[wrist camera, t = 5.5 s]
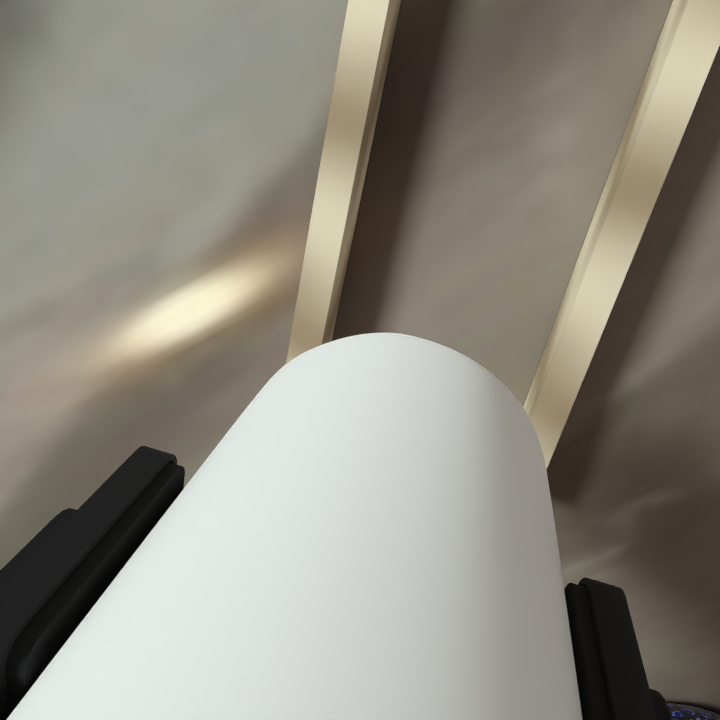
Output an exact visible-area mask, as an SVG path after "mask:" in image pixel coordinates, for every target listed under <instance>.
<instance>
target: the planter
mask: <svg viewBox="0 0 720 720" xmlns="http://www.w3.org/2000/svg"><path fill="white" fill-rule="evenodd" d="M666 704H667V707H668V709H669V712H670V716H671V719H672V720H720V714H717V713H715V712H712V711H709V710H706V709H702V708H698V707H694V706H689V705H683V704H676V703H666Z"/></svg>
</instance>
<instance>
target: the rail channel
mask: <svg viewBox="0 0 720 720" xmlns="http://www.w3.org/2000/svg"><path fill="white" fill-rule="evenodd" d="M400 4H401V0H349V1H348V6H347V12H346V18H345V24H344V30H343V35H342V41H341V47H340V53H339V59H338V65H337V70H336V76H335V82H334V88H333V94H332V99H331V105H330V111H329V117H328V123H327V128H326V134H325V140H324V146H323V152H322V157H321V163H320V169H319V175H318V181H317V186H316V192H315V198H314V204H313V210H312V216H311V221H310V227H309V233H308V239H307V245H306V250H305V256H304V262H303V268H302V274H301V279H300V285H299V291H298V297H297V303H296V308H295V314H294V320H293V326H292V332H291V338H290V343H289V349H288V355H287V361H286V364H287V363H288V362H290V361H291V360H292V359H294V358H295V357H297V356H299V355H300V354H302V353H304V352H306V351H308V350H311V349H313V348H315V347H317V346H320V345H323V344H325V343H328V342H331V341H332V337H333V332H334V327H335V323H336V318H337V313H338V308H339V303H340V298H341V293H342V288H343V283H344V278H345V274H346V269H347V264H348V259H349V254H350V249H351V244H352V239H353V234H354V229H355V225H356V220H357V215H358V210H359V205H360V200H361V195H362V190H363V185H364V180H365V176H366V171H367V166H368V161H369V156H370V151H371V146H372V141H373V136H374V131H375V127H376V122H377V117H378V112H379V107H380V102H381V97H382V92H383V87H384V82H385V78H386V73H387V68H388V63H389V58H390V53H391V48H392V43H393V38H394V33H395V29H396V24H397V19H398V14H399V9H400ZM719 46H720V0H673V3H672V5H671V8H670V11H669V13H668V16H667V19H666V22H665V24H664V27H663V30H662V32H661V35H660V38H659V41H658V43H657V46H656V49H655V51H654V54H653V57H652V60H651V62H650V65H649V68H648V70H647V73H646V76H645V79H644V81H643V84H642V87H641V89H640V92H639V95H638V98H637V100H636V103H635V106H634V108H633V111H632V114H631V116H630V119H629V122H628V125H627V127H626V130H625V133H624V135H623V138H622V141H621V144H620V146H619V149H618V152H617V154H616V157H615V160H614V163H613V165H612V168H611V171H610V173H609V176H608V179H607V182H606V184H605V187H604V190H603V192H602V195H601V198H600V201H599V203H598V206H597V209H596V211H595V214H594V217H593V220H592V222H591V225H590V228H589V230H588V233H587V236H586V239H585V241H584V244H583V247H582V249H581V252H580V255H579V258H578V260H577V263H576V266H575V268H574V271H573V274H572V276H571V279H570V282H569V285H568V287H567V290H566V293H565V295H564V298H563V301H562V304H561V306H560V309H559V312H558V314H557V317H556V320H555V323H554V325H553V328H552V331H551V333H550V336H549V339H548V342H547V344H546V347H545V350H544V352H543V355H542V358H541V361H540V363H539V366H538V369H537V371H536V374H535V377H534V380H533V382H532V385H531V388H530V390H529V393H528V396H527V399H526V401H525V404H524V407H523V408H524V410H525V411H526V413H527V415H528V416H529V418H530V420H531V422H532V424H533V426H534V428H535V430H536V433H537V435H538V438H539V441H540V445H541V448H542V452H543V456H544V460H545V466H546V470H547V467H548V465H549V462H550V460H551V458H552V455H553V453H554V450H555V448H556V445H557V443H558V440H559V438H560V435H561V433H562V431H563V428H564V426H565V423H566V421H567V418H568V416H569V413H570V411H571V408H572V406H573V404H574V401H575V399H576V396H577V394H578V391H579V389H580V386H581V384H582V382H583V379H584V377H585V374H586V372H587V369H588V367H589V364H590V362H591V359H592V357H593V355H594V352H595V350H596V347H597V345H598V342H599V340H600V337H601V335H602V332H603V330H604V328H605V325H606V323H607V320H608V318H609V315H610V313H611V310H612V308H613V306H614V303H615V301H616V298H617V296H618V293H619V291H620V288H621V286H622V283H623V281H624V279H625V276H626V274H627V271H628V269H629V266H630V264H631V261H632V259H633V256H634V254H635V252H636V249H637V247H638V244H639V242H640V239H641V237H642V234H643V232H644V230H645V227H646V225H647V222H648V220H649V217H650V215H651V212H652V210H653V207H654V205H655V203H656V200H657V198H658V195H659V193H660V190H661V188H662V185H663V183H664V180H665V178H666V176H667V173H668V171H669V168H670V166H671V163H672V161H673V158H674V156H675V154H676V151H677V149H678V146H679V144H680V141H681V139H682V136H683V134H684V131H685V129H686V127H687V124H688V122H689V119H690V117H691V114H692V112H693V109H694V107H695V105H696V102H697V100H698V97H699V95H700V92H701V90H702V87H703V85H704V82H705V80H706V78H707V75H708V73H709V70H710V68H711V65H712V63H713V60H714V58H715V55H716V53H717V51H718V48H719Z"/></svg>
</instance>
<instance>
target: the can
mask: <svg viewBox="0 0 720 720" xmlns="http://www.w3.org/2000/svg"><path fill="white" fill-rule="evenodd" d="M7 720H583V719H582V712H581V705H580V698H579V691H578V683H577V676H576V669H575V662H574V655H573V648H572V641H571V634H570V627H569V620H568V613H567V606H566V599H565V592H564V585H563V578H562V571H561V564H560V557H559V550H558V543H557V536H556V530H555V523H554V516H553V509H552V503H551V496H550V490H549V483H548V477H547V471H546V466H545V460H544V456H543V452H542V448H541V445H540V441H539V438H538V435H537V433H536V430H535V428H534V426H533V424H532V422H531V420H530V418H529V416H528V415H527V413H526V411H525V410H524V408H523V407H522V405H521V404H520V402H519V401H518V400H517V399H516V397H515V396H514V395H513V394H512V392H511V391H510V390H509V389H508V388H507V387H506V386H505V385H504V384H503V383H502V382H501V381H500V380H499V379H498V378H496V377H495V376H494V375H493V374H492V373H490V372H489V371H488V370H487V369H485V368H484V367H482V366H481V365H480V364H478V363H477V362H475V361H473V360H472V359H470V358H468V357H467V356H465V355H463V354H461V353H459V352H457V351H455V350H453V349H450V348H448V347H445V346H443V345H440V344H437V343H435V342H431V341H428V340H425V339H422V338H418V337H414V336H410V335H404V334H397V333H369V334H361V335H355V336H350V337H345V338H341V339H338V340H334V341H331V342H328V343H325V344H323V345H320V346H317V347H315V348H313V349H311V350H308V351H306V352H304V353H302V354H300V355H299V356H297V357H295V358H294V359H292V360H291V361H290V362H288V363H287V364H286V365H284V366H283V367H282V368H281V369H280V370H279V371H278V372H277V373H276V374H275V375H274V376H273V377H272V378H271V379H270V380H269V381H268V382H267V383H266V385H265V386H264V387H263V388H262V389H261V391H260V392H259V393H258V394H257V395H256V397H255V398H254V399H253V400H252V402H251V403H250V404H249V405H248V407H247V408H246V409H245V411H244V412H243V413H242V414H241V416H240V417H239V418H238V419H237V421H236V422H235V423H234V425H233V426H232V427H231V428H230V430H229V431H228V432H227V434H226V435H225V436H224V437H223V439H222V440H221V441H220V443H219V444H218V445H217V446H216V448H215V449H214V450H213V452H212V453H211V454H210V455H209V457H208V458H207V459H206V461H205V462H204V463H203V464H202V466H201V467H200V468H199V470H198V471H197V472H196V474H195V475H194V476H193V477H192V479H191V480H190V481H189V483H188V484H187V485H186V486H185V488H184V489H183V490H182V492H181V493H180V494H179V496H178V497H177V498H176V499H175V501H174V502H173V503H172V505H171V506H170V507H169V509H168V510H167V511H166V512H165V514H164V515H163V516H162V518H161V519H160V520H159V521H158V523H157V524H156V525H155V527H154V528H153V529H152V531H151V532H150V533H149V534H148V536H147V537H146V538H145V540H144V541H143V542H142V544H141V545H140V546H139V547H138V549H137V550H136V551H135V553H134V554H133V555H132V557H131V558H130V559H129V560H128V562H127V563H126V564H125V566H124V567H123V568H122V570H121V571H120V572H119V573H118V575H117V576H116V577H115V579H114V580H113V581H112V583H111V584H110V585H109V586H108V588H107V589H106V590H105V592H104V593H103V594H102V596H101V597H100V598H99V599H98V601H97V602H96V603H95V605H94V606H93V607H92V609H91V610H90V611H89V613H88V614H87V615H86V616H85V618H84V619H83V620H82V622H81V623H80V624H79V626H78V627H77V628H76V629H75V631H74V632H73V633H72V635H71V636H70V637H69V639H68V640H67V641H66V642H65V644H64V645H63V646H62V648H61V649H60V650H59V652H58V653H57V654H56V655H55V657H54V658H53V659H52V661H51V662H50V663H49V665H48V666H47V667H46V669H45V670H44V671H43V673H42V674H41V675H40V676H39V678H38V679H37V680H36V682H35V683H34V684H33V686H32V687H31V688H30V690H29V691H28V692H27V693H26V695H25V696H24V697H23V699H22V700H21V701H20V703H19V704H18V705H17V707H16V708H15V709H14V710H13V712H12V713H11V714H10V716H9V717H8V718H7Z"/></svg>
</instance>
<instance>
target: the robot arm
mask: <svg viewBox="0 0 720 720" xmlns="http://www.w3.org/2000/svg"><path fill="white" fill-rule="evenodd" d="M184 476H185V470H184V467H182V466H179V465H177V459H176V456H175V455H173V454H170V453H166V452H163V451H160V450H156V449H153V448H150V447H146V446H141V447H139V448H138V449H137V450H136V451H135V452H134V453H133V454H132V455H131V456H130V457H129V458H128V459H127V460H126V461H125V462H124V463H123V464H122V465H121V466H120V467H119V468H118V469H117V470H116V471H115V472H114V473H113V474H112V475H111V476H110V477H109V478H108V479H107V480H106V481H105V482H104V483H103V484H102V485H101V487H100V488H99V489H98V490H97V491H96V492H95V493H94V494H93V495H92V496H91V497H90V498H89V499H88V500H87V501H86V502H85V503H84V504H83V505H82V506H81V507H80V508H79V509H78V510H75V509H71V508H69V509H66V510H63V511H62V512H61V513H59V514H58V515H57V516H56V517H54V518H53V519H52V520H51V521H50V522H49V523H48V524H47V525H46V526H45V527H44V528H43V529H42V530H41V531H40V532H39V533H38V534H37V535H36V536H35V537H34V538H33V539H32V540H31V541H30V542H29V543H28V544H27V545H26V546H25V547H24V548H23V549H22V550H21V551H20V552H19V553H18V554H17V555H16V556H15V557H14V558H13V559H12V560H11V561H10V562H9V563H8V564H7V565H6V566H5V567H3V568H2V569H1V570H0V720H7V718H8V717H9V716H10V714H11V713H12V712H13V710H14V709H15V708H16V707H17V705H18V704H19V703H20V701H21V700H22V699H23V697H24V696H25V695H26V693H27V692H28V691H29V690H30V688H31V687H32V686H33V684H34V683H35V682H36V680H37V679H38V678H39V676H40V675H41V674H42V673H43V671H44V670H45V669H46V667H47V666H48V665H49V663H50V662H51V661H52V659H53V658H54V657H55V655H56V654H57V653H58V652H59V650H60V649H61V648H62V646H63V645H64V644H65V642H66V641H67V640H68V639H69V637H70V636H71V635H72V633H73V632H74V631H75V629H76V628H77V627H78V626H79V624H80V623H81V622H82V620H83V619H84V618H85V616H86V615H87V614H88V613H89V611H90V610H91V609H92V607H93V606H94V605H95V603H96V602H97V601H98V599H99V598H100V597H101V596H102V594H103V593H104V592H105V590H106V589H107V588H108V586H109V585H110V584H111V583H112V581H113V580H114V579H115V577H116V576H117V575H118V573H119V572H120V571H121V570H122V568H123V567H124V566H125V564H126V563H127V562H128V560H129V559H130V558H131V557H132V555H133V554H134V553H135V551H136V550H137V549H138V547H139V546H140V545H141V544H142V542H143V541H144V540H145V538H146V537H147V536H148V534H149V533H150V532H151V531H152V529H153V528H154V527H155V525H156V524H157V523H158V521H159V520H160V519H161V518H162V516H163V515H164V514H165V512H166V511H167V510H168V509H169V507H170V506H171V505H172V503H173V502H174V501H175V499H176V498H177V497H178V496H179V494H180V493H181V492H182V490H183V487H184ZM564 592H565V599H566V606H567V613H568V620H569V627H570V634H571V641H572V648H573V655H574V662H575V669H576V676H577V683H578V691H579V698H580V705H581V712H582V719H583V720H672V719H671V716H670V712H669V709H668V707H667V704H666V701H665V699H664V698H663V696H662V695H661V694H660V693H659V692H657V691H655V690H652V689H649V686H648V682H647V678H646V674H645V670H644V666H643V663H642V659H641V655H640V651H639V647H638V643H637V639H636V635H635V631H634V628H633V624H632V620H631V616H630V612H629V608H628V604H627V600H626V597H625V594H624V591H623V590H622V589H621V588H619V587H616V586H612V585H609V584H606V583H602V582H599V581H596V580H592V579H589V578H583V579H582V580H581V581H580V582H579V584H578V585H576V584H573V583H569V584H568V585H567V586H566V588H565V589H564Z"/></svg>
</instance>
